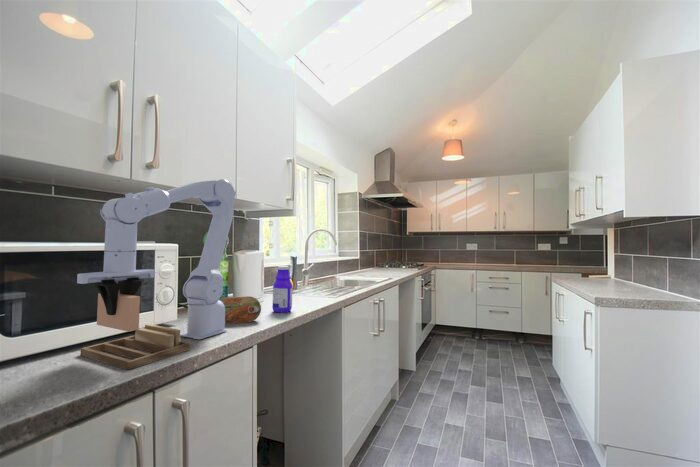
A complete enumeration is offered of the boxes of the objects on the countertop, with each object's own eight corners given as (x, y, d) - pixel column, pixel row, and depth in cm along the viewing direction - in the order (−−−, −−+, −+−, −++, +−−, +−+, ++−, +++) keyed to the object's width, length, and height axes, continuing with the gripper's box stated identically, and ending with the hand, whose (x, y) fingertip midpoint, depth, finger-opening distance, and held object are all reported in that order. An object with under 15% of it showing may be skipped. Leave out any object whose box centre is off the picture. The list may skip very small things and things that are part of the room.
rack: (143, 338, 81) (143, 333, 81) (190, 349, 73) (190, 343, 74) (80, 355, 69) (80, 348, 69) (128, 369, 61) (129, 362, 61)
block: (106, 322, 71) (108, 292, 71) (138, 329, 66) (140, 296, 66) (96, 324, 69) (98, 293, 69) (128, 331, 64) (130, 297, 64)
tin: (210, 324, 96) (211, 298, 97) (212, 322, 99) (213, 296, 100) (260, 322, 101) (261, 296, 101) (260, 320, 104) (261, 295, 104)
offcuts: (147, 341, 79) (147, 323, 79) (182, 349, 73) (183, 330, 73) (133, 345, 76) (134, 326, 76) (169, 353, 70) (170, 334, 70)
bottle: (294, 310, 119) (295, 265, 120) (287, 313, 113) (288, 266, 114) (276, 309, 120) (277, 265, 121) (269, 312, 115) (271, 266, 116)
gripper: (143, 251, 76) (140, 306, 76) (70, 251, 63) (67, 318, 63) (161, 251, 73) (159, 308, 73) (89, 252, 60) (85, 322, 60)
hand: (117, 313), depth 67 cm, fingers closed on block, 2 cm apart
